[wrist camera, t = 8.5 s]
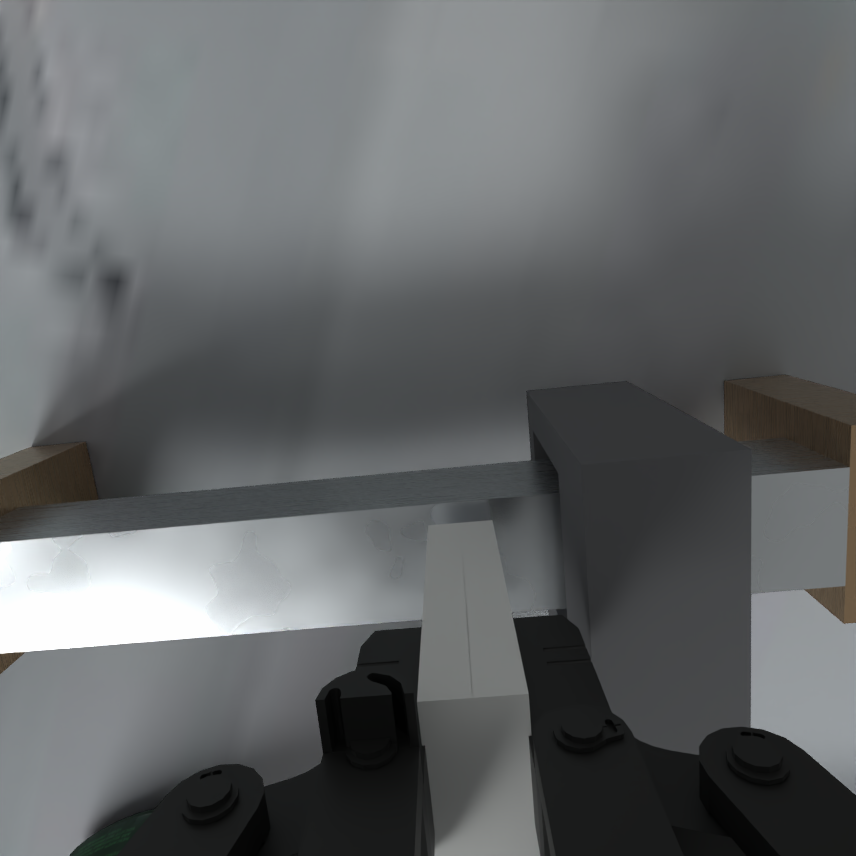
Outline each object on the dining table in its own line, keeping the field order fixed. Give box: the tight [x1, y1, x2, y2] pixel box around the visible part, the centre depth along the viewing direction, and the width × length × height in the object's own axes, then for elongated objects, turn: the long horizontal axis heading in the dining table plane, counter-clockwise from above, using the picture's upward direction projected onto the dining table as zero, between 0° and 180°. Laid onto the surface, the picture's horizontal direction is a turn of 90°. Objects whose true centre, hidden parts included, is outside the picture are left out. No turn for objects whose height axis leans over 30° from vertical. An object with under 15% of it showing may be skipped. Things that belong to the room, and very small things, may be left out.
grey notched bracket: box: [526, 381, 752, 755], centre depth 16 cm, size 3×6×8 cm, turn 6°
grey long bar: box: [0, 375, 856, 674], centre depth 19 cm, size 26×5×7 cm, turn 96°
